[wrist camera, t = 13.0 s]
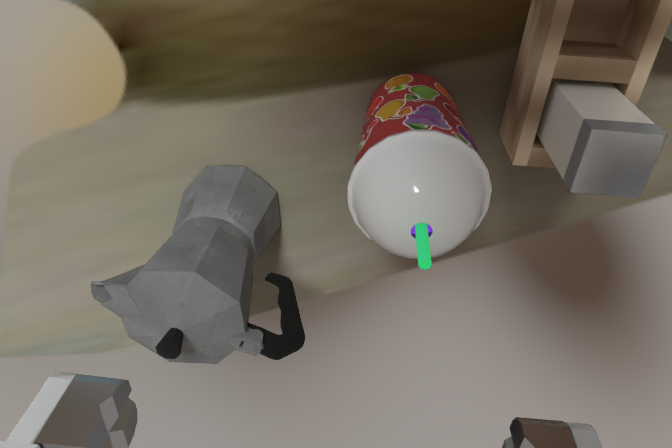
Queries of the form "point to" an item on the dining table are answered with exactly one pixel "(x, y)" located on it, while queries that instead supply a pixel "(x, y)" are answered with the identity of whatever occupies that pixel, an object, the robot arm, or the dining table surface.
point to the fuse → (598, 138)
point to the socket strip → (578, 60)
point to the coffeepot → (208, 276)
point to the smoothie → (417, 172)
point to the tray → (669, 31)
